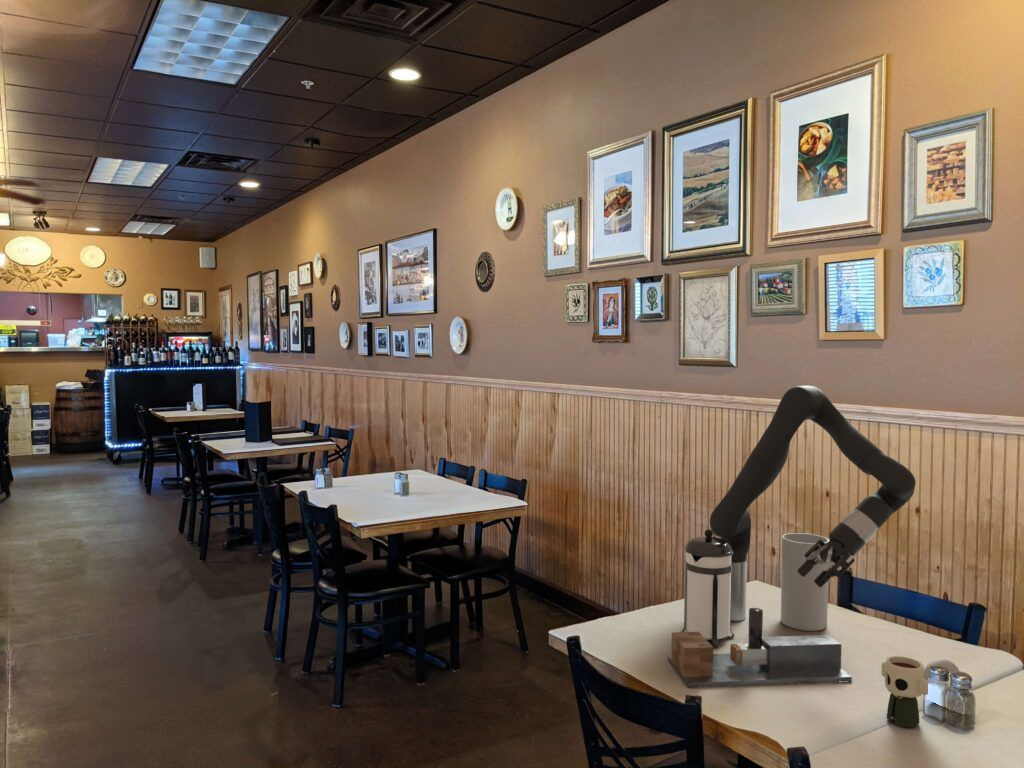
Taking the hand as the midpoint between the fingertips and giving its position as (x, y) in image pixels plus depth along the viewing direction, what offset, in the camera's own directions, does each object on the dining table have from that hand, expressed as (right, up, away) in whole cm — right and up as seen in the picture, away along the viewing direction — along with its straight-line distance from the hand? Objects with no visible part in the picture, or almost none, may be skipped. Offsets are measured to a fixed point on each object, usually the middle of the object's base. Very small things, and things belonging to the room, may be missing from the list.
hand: (808, 579), depth 188 cm
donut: (+23, -23, -17) cm, 37 cm away
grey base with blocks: (-13, -22, 0) cm, 26 cm away
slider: (-7, -20, 0) cm, 21 cm away
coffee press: (-19, -22, +22) cm, 36 cm away
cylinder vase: (+11, -21, +32) cm, 40 cm away
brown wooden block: (-29, -21, -2) cm, 36 cm away
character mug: (+10, -24, -26) cm, 37 cm away
